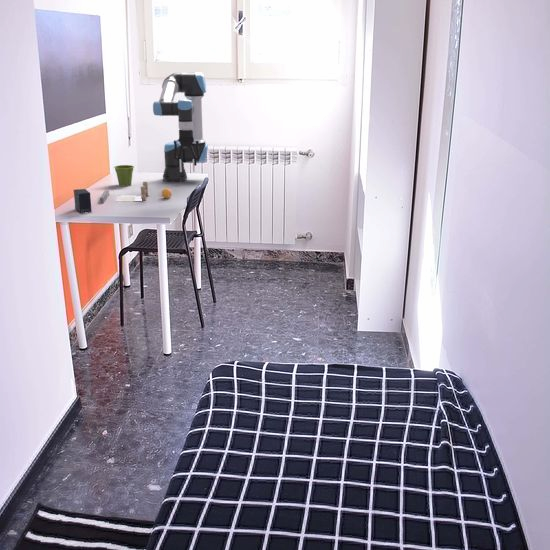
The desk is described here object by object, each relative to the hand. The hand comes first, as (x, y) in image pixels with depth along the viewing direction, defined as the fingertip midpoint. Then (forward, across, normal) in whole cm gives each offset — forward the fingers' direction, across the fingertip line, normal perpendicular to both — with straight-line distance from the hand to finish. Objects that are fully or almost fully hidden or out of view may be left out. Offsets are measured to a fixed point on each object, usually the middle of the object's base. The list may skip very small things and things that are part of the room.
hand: (187, 171), depth 367 cm
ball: (+12, -12, 0) cm, 17 cm away
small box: (+15, -53, -25) cm, 61 cm away
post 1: (+15, -24, +6) cm, 29 cm away
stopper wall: (+15, -46, 0) cm, 48 cm away
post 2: (+15, -24, -6) cm, 29 cm away
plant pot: (+15, -39, +35) cm, 55 cm away
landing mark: (+15, -32, 0) cm, 35 cm away
